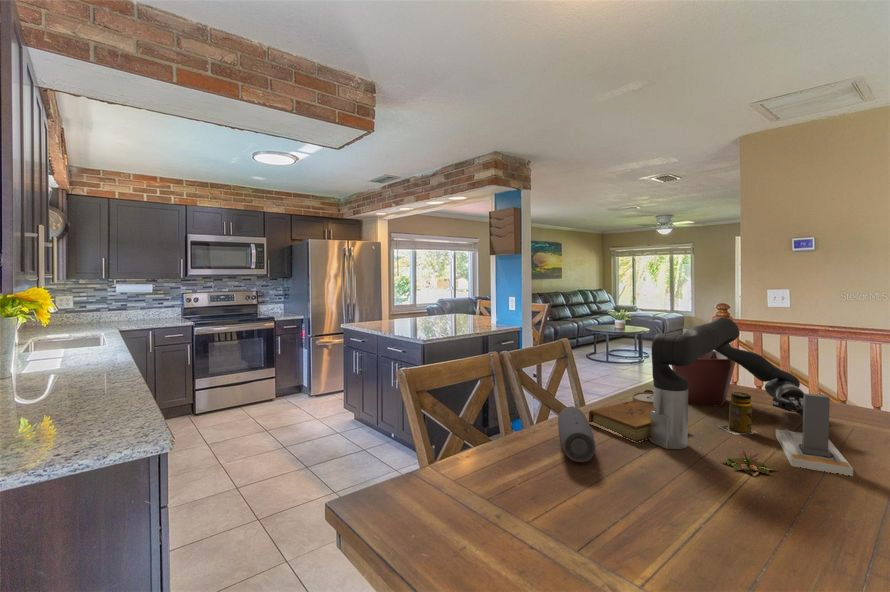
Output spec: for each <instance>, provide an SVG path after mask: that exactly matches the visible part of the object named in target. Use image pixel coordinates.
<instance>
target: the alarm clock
mask: <svg viewBox="0 0 890 592" xmlns="http://www.w3.org/2000/svg"><path fill="white" fill-rule="evenodd" d="M653 394H654V390H651V389H646V390H644V391H641V392H640V391H639V392H636V393H635V392H634V393H633V394H632V398H631V399H632V401H634V400H637V401H640V402H644V403H647V404H651V405H653Z"/></svg>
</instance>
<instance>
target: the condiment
mask: <svg viewBox="0 0 890 592" xmlns="http://www.w3.org/2000/svg"><path fill="white" fill-rule="evenodd" d="M751 399H752V395H750V394H749V393H746V392H741V391H740V392H738V391H737V392H736V391H735V392H734V391H733V392H731V393H730V400H729V403H728V404H729V406H728V407H729V409H728V410H729V412H728V414H729V415H728V425H718V426H716V427H718V428H719V429H721V430H723V431H725V432H727V433H730V434H731V433H732V435H734V436H736V435H738V436H739V435H747V434H746V433H749V434H748V435H752V434H753V435H754V434H755V433H756V434H758V431H755V430H752V425H753V424H752V422H753V421H752V420H753V419H752V417H753V404H752V403H751V402H752V400H751ZM728 426H729V429H730V430H729V431H728V429H727V428H726V427H728ZM725 429H727V430H725ZM735 432H737V433H735ZM752 432H753V433H752Z"/></svg>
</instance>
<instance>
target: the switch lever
mask: <svg viewBox="0 0 890 592" xmlns="http://www.w3.org/2000/svg"><path fill="white" fill-rule="evenodd" d="M830 403H831V397H830V396H829V395H827V394H825V395H823V394H815V393H814V394H812V393H806V392H804V401H803V416H802V433H803V436H802V444H800V443H799V448H800V449H801V451H802V453H806V454H813V455H819V456H826V457H832V453H831V451H830V450H829V449H828V440H830V439H829V436H830V435H829V434H830V433H829V432H830V405H831V404H830Z"/></svg>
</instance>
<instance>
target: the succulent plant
mask: <svg viewBox="0 0 890 592" xmlns="http://www.w3.org/2000/svg"><path fill="white" fill-rule="evenodd" d="M746 451H747V453H749V451H748V450H746ZM747 453H746V452H745V451H744V450H742V451H741V453H739V454H740V455H737V456H738V457H727V459H728V460H725V461H721V462H720V463H721V464H726V463H727V464H726V465H728V466H732V467H733V470H734V469H735V471H740V470H742V471H743V469H745V467H744V468H742V466H741V464H746V465H745V466H746V467H747V466H749V467H748V468H746V469H745V470H747V471H753V470H752V469H753V468H750V467H751V466H750V465H754V466H756V467H757V469H758V470H754V472H755V471H758V472H759V473H760V472H761V473H763V474H765V473H766V474H765V475H767V474H770V475H771V473H770V471H768V470H767V469H764V468H759V467H762V466H763V467H765V468H769V469H773V470H775V469H774V468H771V467H770V466H765V464H764V462H761V461H758V458H755V457H756V456H758V455H759V453H756V454H753V453H754V451H752V452H751V453H750V455H749V456H747ZM752 454H753V455H752ZM754 458H755V459H754ZM744 460H746V461H744ZM732 463H736V464H734V465H730V464H732ZM761 463H762V464H761ZM736 469H737V470H736ZM750 469H751V470H750ZM744 472H745V473H747V474H749V473H748V472H746V471H744ZM764 472H765V473H764ZM758 475H759V474H757V475H756V476H758ZM771 476H772V475H771Z"/></svg>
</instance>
